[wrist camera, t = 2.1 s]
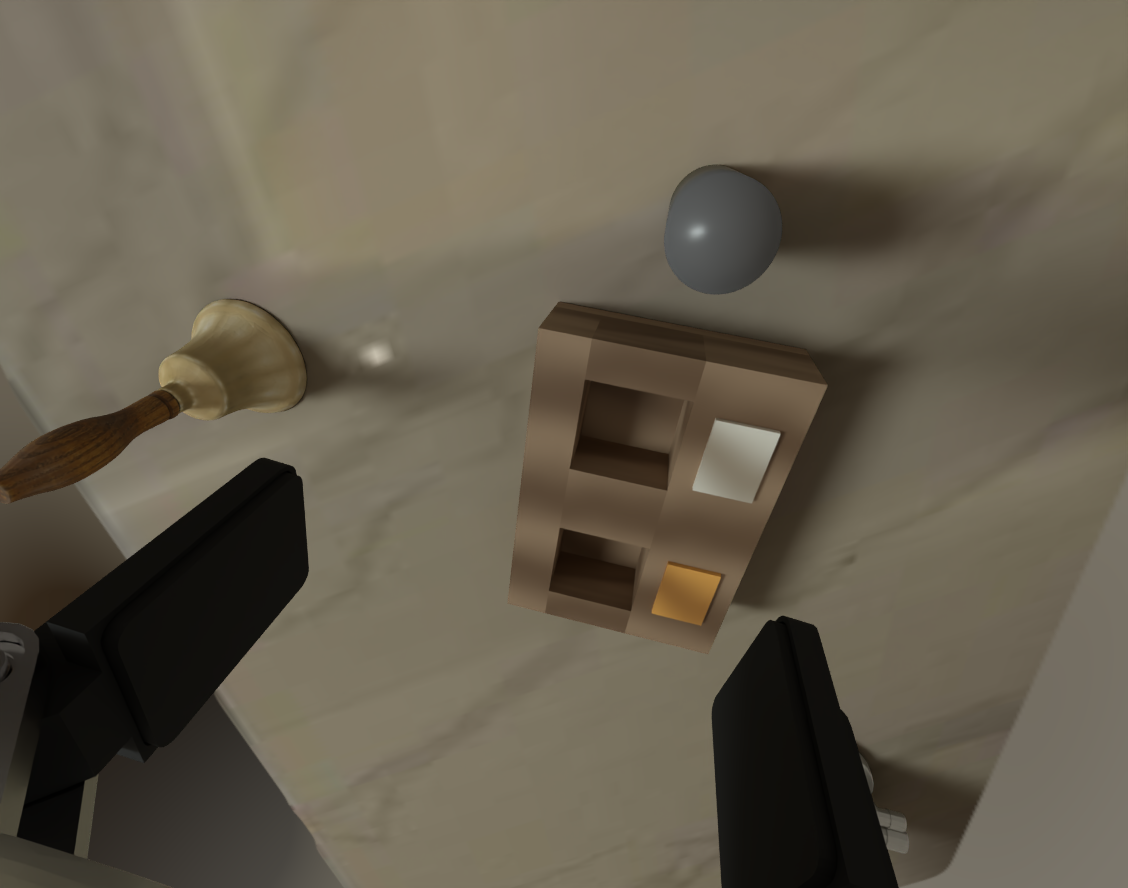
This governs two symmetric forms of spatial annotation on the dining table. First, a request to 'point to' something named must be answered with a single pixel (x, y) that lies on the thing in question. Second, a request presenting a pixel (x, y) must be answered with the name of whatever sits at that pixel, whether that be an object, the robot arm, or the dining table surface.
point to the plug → (721, 230)
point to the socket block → (652, 470)
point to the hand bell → (174, 397)
